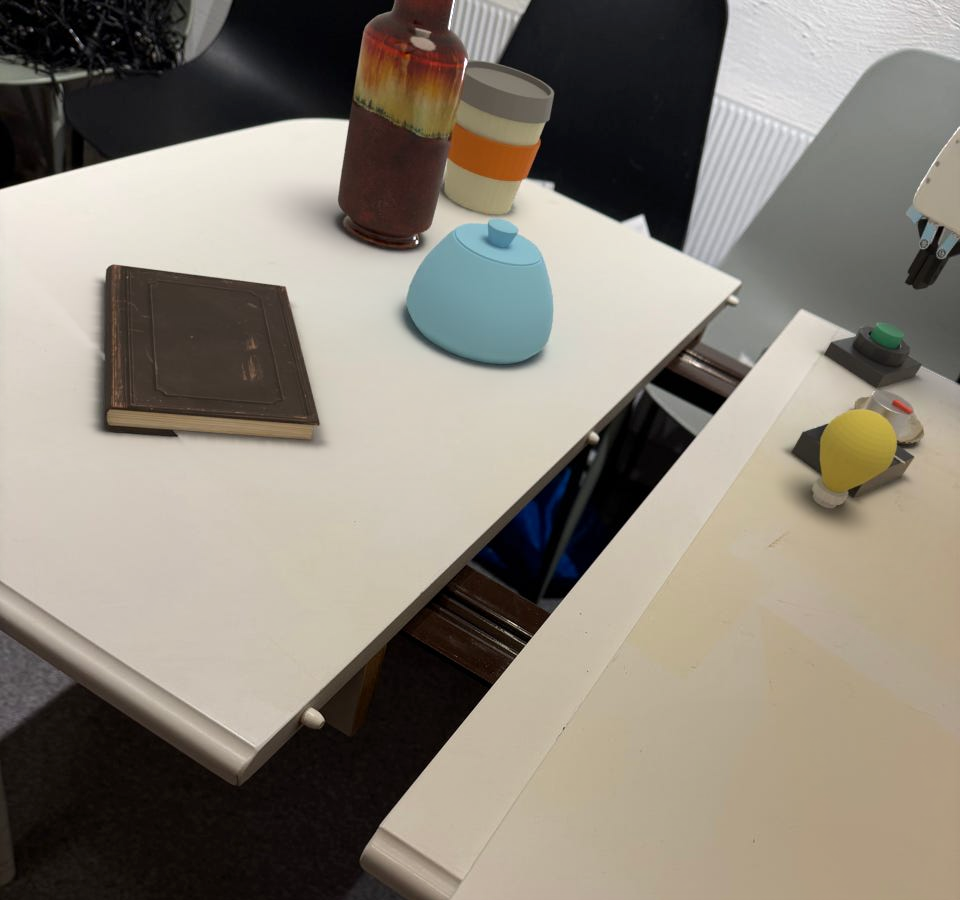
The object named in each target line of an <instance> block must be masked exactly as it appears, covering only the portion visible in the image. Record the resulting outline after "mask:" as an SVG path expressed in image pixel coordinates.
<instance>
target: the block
mask: <svg viewBox="0 0 960 900" xmlns="http://www.w3.org/2000/svg"><path fill="white" fill-rule="evenodd" d="M874 328H875V326H870V325H869V326H868V325H865V326H860V327H859V328H858V330H857V332H856V334H855V336H851V337H847V338H841V339H837V340H833V341H831V342H830V343H829V345H828V346H827V348H826V350H825V352H824V354H823V355H824V356H825V357H827V358H829V359H830V360H831V361H833V362H834V363H836V364H838V365H839V366H841V367H843V368H844V369H845V370H847V371H848V372H850V373H851V374H853V375H855V376H856V377H857V378H859V379H861V380H862V381H864V382H866V383H867V384H869V385H870V386H872V387H873V388H874V389H880V388H882V387H885V386H889V385H892V384H895V383H898V382H902V381H905V380H909V379H911V378H915V377H916V375H917V374H918V372H919V370H920V368H921V367H922V365H923V364H922V363H921V362H919V361H917V360H916V359H915V358H912V357H911V356H909V354H910V352H911V349H910V348H911V347H910V346H909V345H908V344H907V343H906V342H905V341H904V340H903V339H902V341H901V343H900V344H899V346H898V348H897V349H893V348H888V347H886V346H883V345H881V344H879V343H877V342H876V341H874V340H873V339H872V338H871V337H870V335H871V333H872V331H873V330H874Z"/></svg>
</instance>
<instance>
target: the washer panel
mask: <svg viewBox="0 0 960 900" xmlns="http://www.w3.org/2000/svg"><path fill="white" fill-rule="evenodd" d="M829 423H830V422H827V423H824V424H821V425H818V426H816V427H812V428H808V429H807V430H803V431H802V432H801V434H800V435H799V437H798V439H797V441H796V443H795V445H794V446H793V448H792V450H791V451H790V452H791V454H792V455H794V456H795V457H796V458H798V459H799V460H801V461H802V462H803V463H805V464H806V465H807V466H808V467H810V468H812V469H813V470H814V471H816V472H817V473H818V474H820V475H821V476H822V472H821V464H820V442H821V436H822V434H823V432H824V430H825V428H826V427H827V425H828V424H829ZM914 459H915V455H913V454H911V453H910V452H909V451H907V450H906V449H904V448H903V447H901V446H900V445H898V444H897V448H896V452H895V455H894V458H893V461H892V463H891V465H890V466H889V467H888V469H887V470H885V471H883V472H882V473H880V474H878V475H877V476H875V477H873V478H872V479H870V480H868V481H867V482H865V483H864V484H861V485H859V486H856V487H854V488H851V489H849V490H847V491H848V496H850V497H851V498H857V497H859V496H861V495H863V494H866V493H868V492H870V491H873V490H875V489H877V488H879V487H881V486H884V485H886V484H889V483H891V482H894V481H896V480H898V479H900V478H902V477H903V475H904V474H905V472H906V470H908V468H909V466H910V464H911V463H912V462H913V460H914Z"/></svg>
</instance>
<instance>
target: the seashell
mask: <svg viewBox="0 0 960 900" xmlns="http://www.w3.org/2000/svg"><path fill="white" fill-rule="evenodd" d="M869 397H870V396H865V397H863V396H862V397H859V398H858V399H856V400H855V402H854V408H853V410H857V409H863V408H864V406H865V404H866V403H867V401H868V399H869ZM916 415H917V414H915V411H914V412H913V414H912V416H911V417H910V419H909V420H908V422H907V423H906V425H905V426H904V428H903V430H902V431H901V433H900V434H899V436H898V437H897V444H904V445H908V444H915V443H916V444H917V443H918V442H920V441H921V440H922V439H924V436H925V429H924V426H923V424H922V423H921V421H920V420H919V419H918V418H917V416H916Z"/></svg>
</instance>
